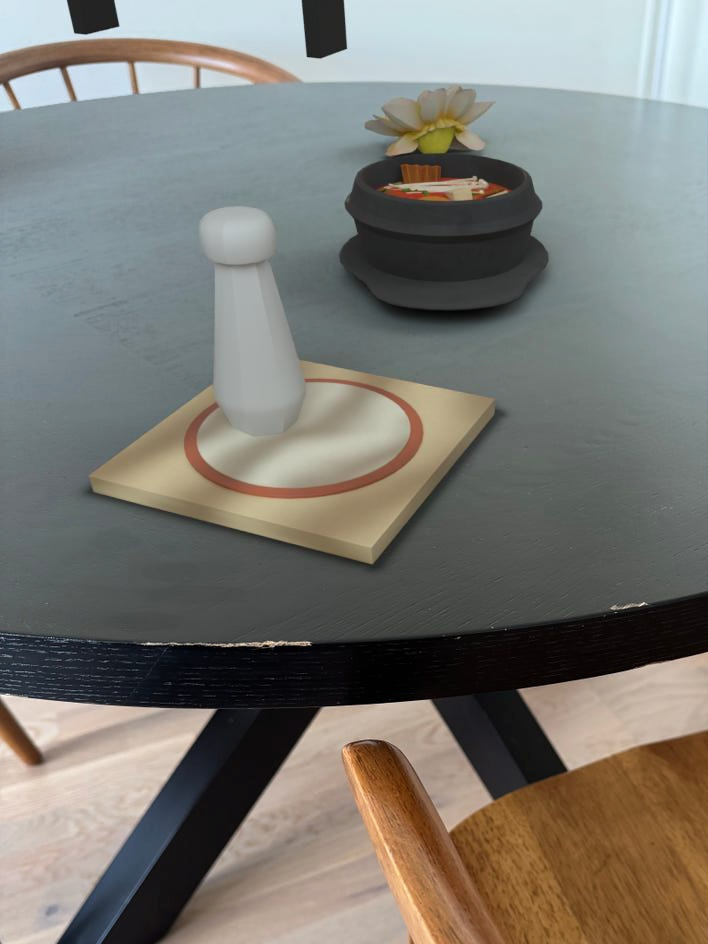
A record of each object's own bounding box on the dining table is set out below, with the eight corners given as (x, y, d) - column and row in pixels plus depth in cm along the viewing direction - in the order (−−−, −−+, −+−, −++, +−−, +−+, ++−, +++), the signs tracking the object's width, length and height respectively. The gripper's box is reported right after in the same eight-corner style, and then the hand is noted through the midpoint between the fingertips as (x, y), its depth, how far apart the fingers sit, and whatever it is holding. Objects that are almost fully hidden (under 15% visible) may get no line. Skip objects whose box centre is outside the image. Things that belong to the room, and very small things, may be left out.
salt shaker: (202, 418, 62) (161, 209, 54) (277, 391, 65) (249, 189, 56) (251, 452, 59) (215, 236, 50) (327, 423, 62) (305, 214, 53)
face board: (93, 492, 58) (86, 471, 57) (258, 366, 71) (256, 347, 70) (372, 564, 53) (371, 542, 52) (494, 414, 66) (495, 394, 65)
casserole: (346, 229, 94) (339, 136, 89) (532, 228, 96) (536, 136, 90) (334, 334, 76) (324, 225, 70) (565, 331, 77) (573, 223, 71)
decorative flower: (474, 119, 121) (476, 33, 113) (505, 164, 115) (510, 78, 107) (361, 136, 118) (354, 50, 110) (387, 185, 112) (382, 97, 104)
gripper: (467, -655, 33) (464, 50, 47) (-82, -589, 40) (58, 11, 54) (371, -744, 28) (400, 79, 42) (-244, -651, 35) (-42, 32, 49)
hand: (208, 42), depth 48 cm, fingers open, 13 cm apart
